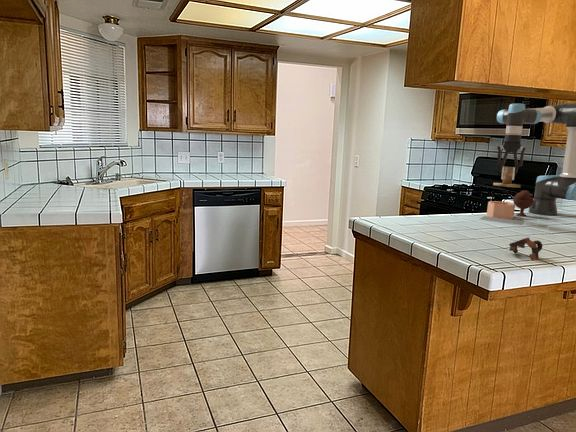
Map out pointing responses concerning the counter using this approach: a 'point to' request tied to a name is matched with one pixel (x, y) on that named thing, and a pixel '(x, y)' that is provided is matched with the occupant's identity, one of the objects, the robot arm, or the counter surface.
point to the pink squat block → (500, 209)
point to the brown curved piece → (530, 243)
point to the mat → (502, 220)
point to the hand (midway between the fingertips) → (507, 179)
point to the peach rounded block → (507, 178)
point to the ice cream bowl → (523, 201)
